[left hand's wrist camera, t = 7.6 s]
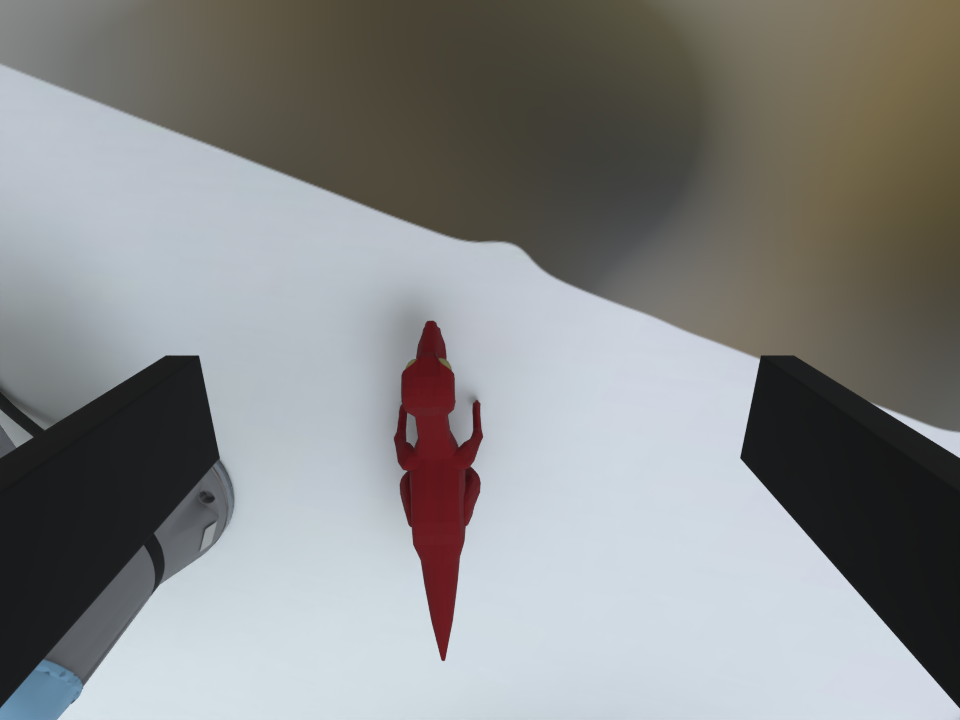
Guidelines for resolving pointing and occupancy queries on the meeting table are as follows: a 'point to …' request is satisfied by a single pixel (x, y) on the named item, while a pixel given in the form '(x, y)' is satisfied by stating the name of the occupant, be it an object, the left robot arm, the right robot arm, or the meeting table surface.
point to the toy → (436, 476)
